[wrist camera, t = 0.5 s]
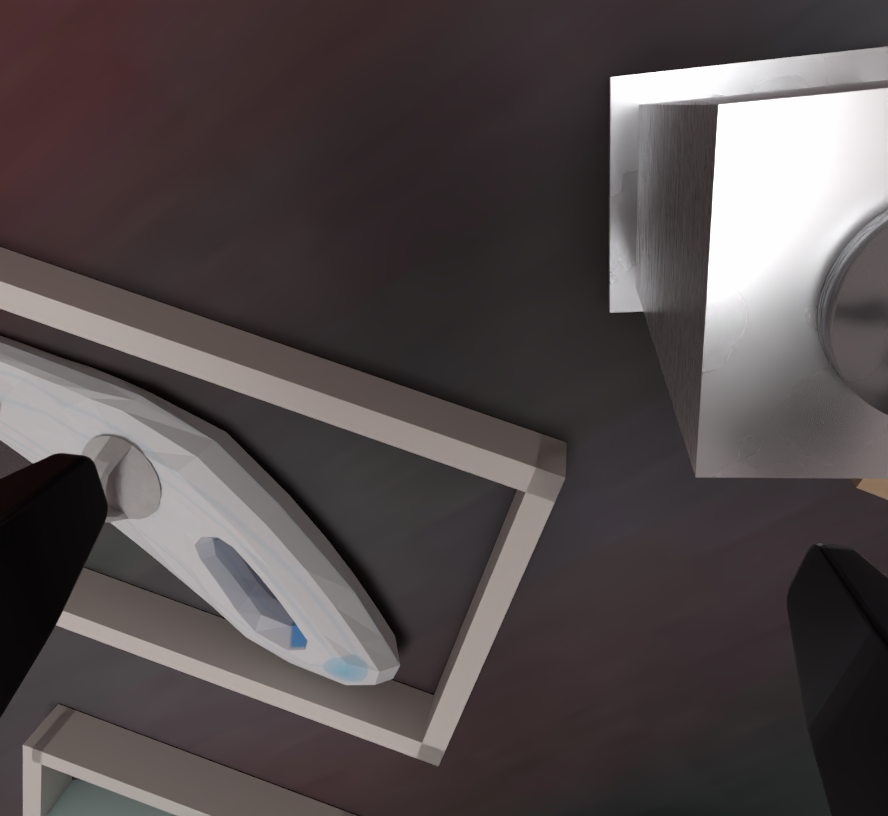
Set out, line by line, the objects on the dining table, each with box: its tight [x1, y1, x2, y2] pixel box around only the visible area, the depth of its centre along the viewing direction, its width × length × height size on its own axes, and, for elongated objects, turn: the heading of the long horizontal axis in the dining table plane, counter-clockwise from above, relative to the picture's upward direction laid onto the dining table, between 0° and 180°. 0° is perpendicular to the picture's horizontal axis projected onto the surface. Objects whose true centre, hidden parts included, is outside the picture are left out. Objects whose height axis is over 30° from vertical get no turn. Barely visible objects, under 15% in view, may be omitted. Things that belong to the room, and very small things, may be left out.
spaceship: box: [0, 336, 400, 685], centre depth 26 cm, size 23×7×4 cm, turn 52°
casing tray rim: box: [0, 247, 567, 766], centre depth 27 cm, size 15×27×2 cm, turn 74°
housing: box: [608, 47, 888, 479], centre depth 14 cm, size 6×7×13 cm
